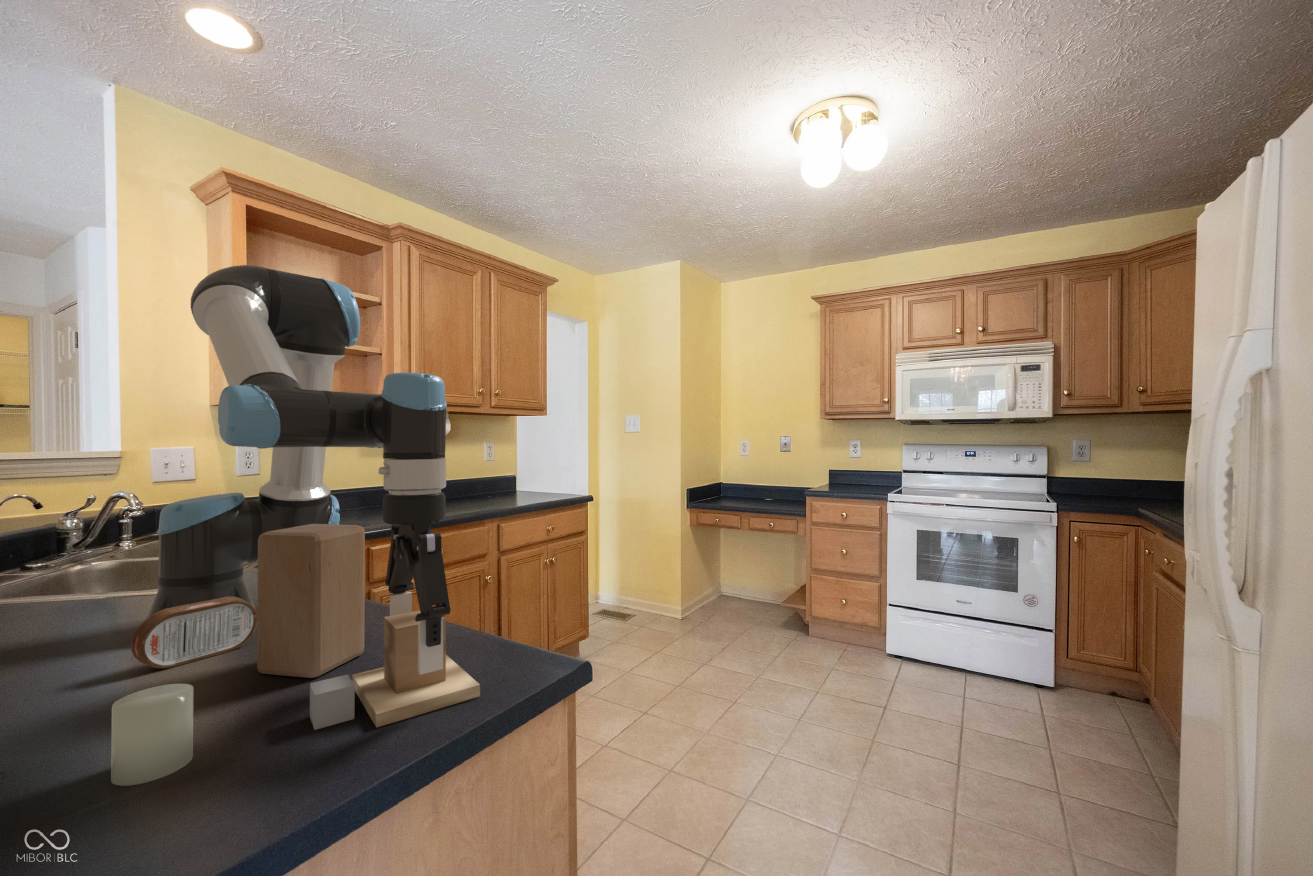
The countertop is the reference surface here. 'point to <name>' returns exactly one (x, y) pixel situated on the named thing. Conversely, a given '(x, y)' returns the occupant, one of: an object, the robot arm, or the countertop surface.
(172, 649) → the tin
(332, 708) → the slate cube
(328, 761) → the countertop surface
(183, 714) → the pale green rounded cylinder
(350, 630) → the block
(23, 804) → the countertop surface
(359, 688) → the board
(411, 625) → the walnut block
